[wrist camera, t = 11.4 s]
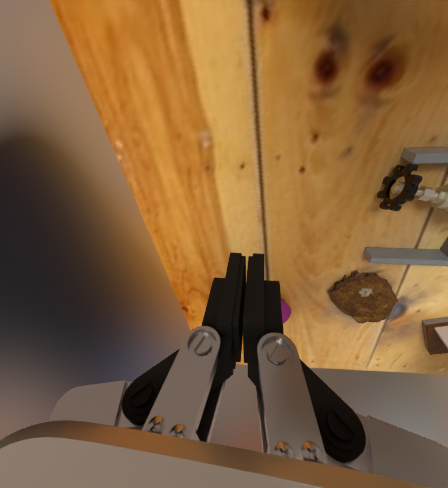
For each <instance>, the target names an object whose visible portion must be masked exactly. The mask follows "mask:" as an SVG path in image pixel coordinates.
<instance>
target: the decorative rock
mask: <svg viewBox="0 0 448 488" xmlns="http://www.w3.org/2000/svg"><path fill="white" fill-rule="evenodd" d="M351 275H352V276H350V277H346V275H345V276H344V277H345V279H344V282H342V281H339V282H336V284H337V287H336V288H335V290H333V291H328V293H329V295H330V296H331V299H332V302H333V303H334V304H335V305H336V306H337V307H338V308H339V309H340V310H341V311H342V312H344V313H345V314H347V315H350V316H352V317H353V318H354V319H355V321H357V322H358V323H365V322H367V321H368V322H379V321H381V320H384V319H386V318H387V317H388V316H389V315H390V312H391V311H392V307H393V305H394V304H396V303H397V302H398V299H397V298H396V295H395V294H394V292H393V291H392V287H391V286H390V285H389V283H388V282H387V280H386V279H382V278H380V277H379V276H378V275H377V274H376V273H372V274H369V273H361V274H360V273H359V272H358V271H352V272H351Z"/></svg>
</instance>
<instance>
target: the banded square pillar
mask: <svg viewBox="0 0 448 488" xmlns="http://www.w3.org/2000/svg"><path fill="white" fill-rule="evenodd" d="M422 321H423V330H424V338H425V347H426V348H427V350H428V352H429V353H430V355H432V354H442V353H448V317H442V318H436V319H429V320H422Z"/></svg>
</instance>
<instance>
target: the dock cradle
mask: <svg viewBox="0 0 448 488" xmlns="http://www.w3.org/2000/svg"><path fill="white" fill-rule="evenodd" d="M401 158H403V159H405V160H407V161H409V162H411V163H412V164H420V163H448V147H427V148H405V149H404V151H403V154H402V156H401ZM363 253H364V254H365V256H366V258H367V259H368V261H369V263H385V264H409V265H433V266H448V238H447V239H446V241H445V242H444V244H443V245H442V247H441V248H440V250H438V249H406V248H373V247H365V249H364V252H363Z"/></svg>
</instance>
